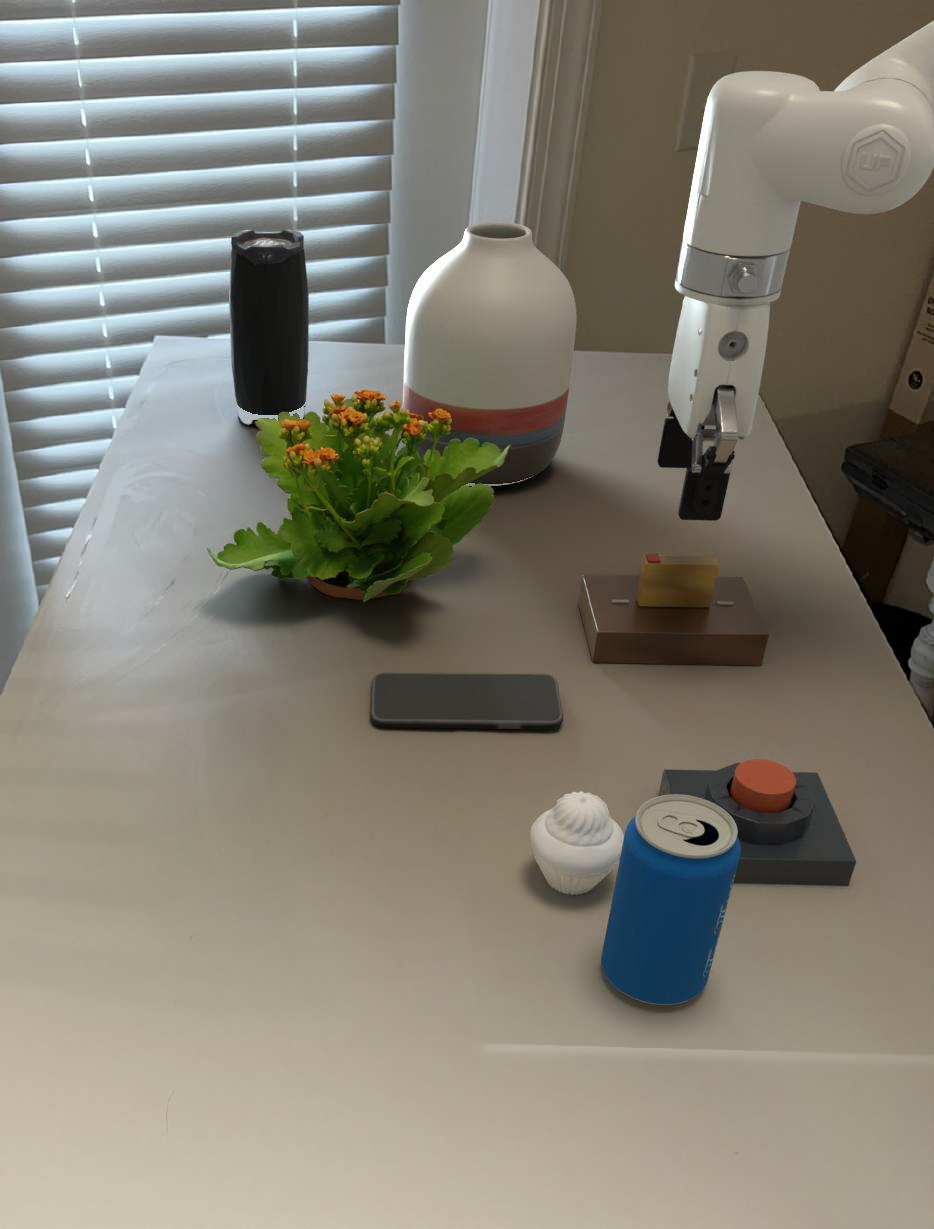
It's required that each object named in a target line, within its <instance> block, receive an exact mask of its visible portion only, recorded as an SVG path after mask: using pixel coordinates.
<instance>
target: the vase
mask: <svg viewBox="0 0 934 1229" xmlns="http://www.w3.org/2000/svg"><path fill="white" fill-rule="evenodd" d="M406 313H407V314H406V321H405V339H404V340H405V341H404V358H403V359H404V361H403V384H402V385H403V386H402V387H403V388H402V409H403V408H406V410H409V413H413V414H417V415H421V416H422V417H423V418H424V419H423V421H427V422H428V424H430V423H431V422H432V421H434V419H433V418H431V417H429V415H428V413H429V412H430V413H433V412H435V410H436V409H443V411H447V412H446V413H450V416H451V419H452V422H451V423H450V428H451V430H450V431H449V432H450V434H444V435H442V437H441V438H440V439H439V440H438V441H437V443H436V446H435V449H434V450H437V451H438V452H439V453H440V455H441V457H442V456H443V451H444V449H445V447H446V446H447V447H448V444H449V442H450V441H451V440H452V439H459V440H460V442H461V444H462V443H463V442H464V440H465V439H467V438H474V439H477V440H478V441H479V447H481V446H482V444H484V443H485V442H488V443H492V444H495V445H496V446H497V447H498V448H499V450H500V449H502V452H503V451H504V450H505V448H506V447H507V446H508V445H511V446H510V448H509V449H508V453H507V455H506V457H505V459H504V463H503V465H502V466H500V467H498V468H496V469H494V470H492V471H490V472H488V473H486V474H484V475H482V476H480V477H479V478H477V479H475V480H473V481H471V482H469V483H475V484H480V483H481V484H503V483H512V482H517V481H520V480H524V479H526V478H529V477H532V476H534V477H536V476H537V475H536V474H538V473H539V472H541V471H542V470H543V471H545V470H546V469H547V467H548V466H549V465H550V464H551V463H552V461H553V459H554V457H555V455H556V454H557V453H558V450H559V448H560V445H561V441H562V438H563V433H564V428H565V420H566V415H567V406H568V399H569V392H570V384H571V376H572V369H573V368H572V367H573V360H574V351H575V343H576V334H577V323H578V321H577V319H578V313H577V304H576V299H575V295H574V293H573V288H572V286H571V284H570V282H569V280H568V278H567V277H566V275H565V274H564V273H563V272H562V271H561V269H560V268H559V267H558V266H557V265H556V264H555V263H554V262H553V261H552V260H550V259H549V258H548V257H547V256H546V255H545V254H544V253H542V252H541V251H540V250H539V249H538V248H537V247H536V245H535V244H534V240H533V232H532V230H531V229H530V228H529V227H528V226H526V225H523V224H519V223H514V222H509V221H508V222H507V221H485V222H484V221H483V222H478V223H474V224H471V225H469V226H467V227H466V228H465V231H464V234H463V238H462V240H461V242H460V243H459V244H458V245H457V246H455V247H454V248H453V249H452V250H450V251H448V252H447V253H446V254H444V255H443V256H441V257H439V258H438V259H437V260H436V261H435V262H434V263H432V264H431V265H430V266H429V267H428V268H427V269H425V271H424V272H423V273H422V275H421V276H420V277H419V279H418V281H417V282H416V284H415V286H414V288H413V290H412V294H411V297H410V299H409V303H408V307H407V312H406ZM425 433H426V432H424V433H423V434H425ZM429 435H430V433H426V437H425V439H426V440H424V441H422V442H420V443H417V444H416V445H415V446H414V449H416V448H417V447H419V450H418V451H417V452H418V455H419V457H420V458H421V464H422V462H423V461H422V460H423V457H424V455H425V453H426V451H427V450H428V449H430V450H431V449H432V446H433V443H434V441H433V440H431V438H430V437H429ZM438 435H439V433H438ZM435 436H436V435H435ZM437 438H438V437H437ZM405 446H407V445H406V444H405ZM502 452H501V453H502ZM543 471H542V472H543ZM542 472H541V473H542ZM539 474H540V473H539ZM539 474H538V475H539ZM535 475H536V476H535Z"/></svg>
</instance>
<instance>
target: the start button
mask: <svg viewBox="0 0 934 1229" xmlns="http://www.w3.org/2000/svg"><path fill="white" fill-rule="evenodd" d="M740 763H741V764H739V765H738V766H737V767H736V769H735V773H734V777H733V782H732V786H731V790H730V794H731V797H732V799H733V800H734V801H735V802H737V803H738V804H739V805H740V806H742V807H744V808H747V809H750V810H753V811H756V812H760V813H779V812H782V811H784V810H786V809H787V808H788V807H789V806H790V803H791V800H792V796H793V793H794V789H795V786H796V778H795V775H794V774H793V772H794V771H792V770H791V769H790V768H788V767H787V766H786V765H784V764H782V763H779V762H777V761H773V760H770V759H763V758H762V759H761V758H755V759H748V760H745V761H742V762H740Z"/></svg>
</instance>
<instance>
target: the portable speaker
mask: <svg viewBox="0 0 934 1229" xmlns="http://www.w3.org/2000/svg"><path fill="white" fill-rule="evenodd" d="M230 238H231V239H230V244H231V252H230V269H229V270H230V271H229V284H228V285H229V288H228V306H229V308H228V310H229V311H228V312H229V333H230V334H229V336H230V360H231V361H230V362H231V371H232V380H233V388H234V396H235V402H236V406H237V405H238V406H239V407H240V408H242V409H243V410H245V411H247V412H250V413H252V414H258V415H279V414H280V413H281V412H288V413H289V412H292V411H294V410H297V409H299V408H301V407H302V406H303V405H304V404H305V402H306V403H307V392H308V390H307V389H308V375H309V357H310V356H309V355H310V354H309V350H310V349H309V337H310V336H309V331H310V330H309V329H310V328H309V327H310V326H309V323H310V321H309V320H310V319H309V312H310V311H309V310H310V307H309V304H310V299H309V298H310V296H309V295H310V294H309V284H308V273H307V272H308V271H307V264H306V255H305V254H306V253H305V246H304V243H305V236H304V234H302V232H301V231H299V230H298V231H297V230H293V229H282V230H281V231H254V230H253V229H245V230H241V231H237V232H234V234H233V235H232V236H231V237H230Z"/></svg>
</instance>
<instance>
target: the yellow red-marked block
mask: <svg viewBox="0 0 934 1229" xmlns="http://www.w3.org/2000/svg"><path fill="white" fill-rule="evenodd" d="M719 566H720V563H719V562H718V560H717V558H716V556H714V555H711V556H710V555H660V554H659V553H658V552H657V553H655V552H654V553H653V552H649V553H648V552H647V553H645V554H643V555H642V559H641V566H640V572H639V575H640V576H639V582H638V588H637V594H636V599H637V602H638V605H639V606H643V607H703V608H710V605H711V601H712V596H713V591H714V586H715V582H716V577H718V571H719Z"/></svg>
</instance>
